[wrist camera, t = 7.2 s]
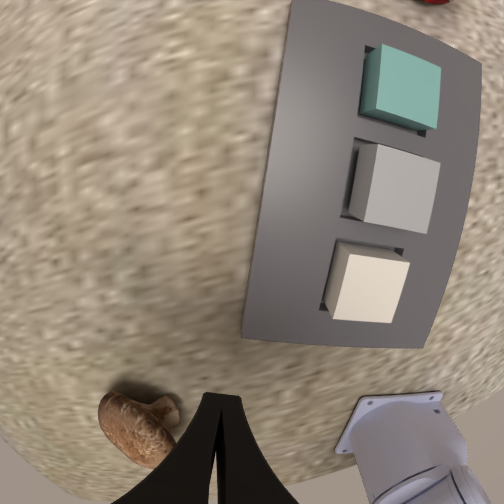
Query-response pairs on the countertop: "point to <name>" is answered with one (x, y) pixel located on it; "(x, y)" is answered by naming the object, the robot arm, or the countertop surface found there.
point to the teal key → (400, 89)
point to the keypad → (352, 180)
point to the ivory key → (364, 283)
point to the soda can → (438, 1)
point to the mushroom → (139, 427)
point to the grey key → (394, 188)
